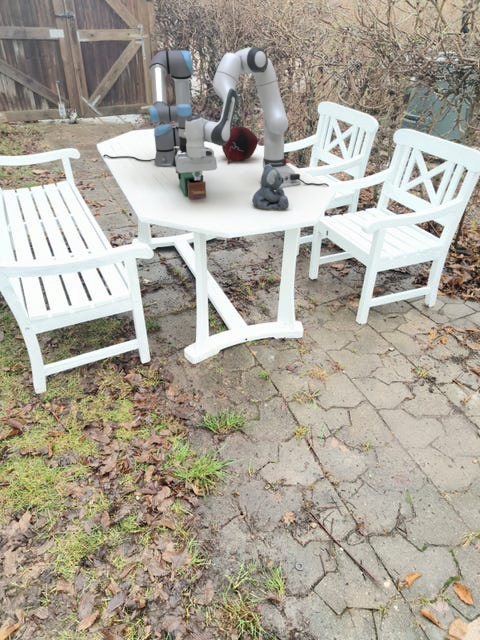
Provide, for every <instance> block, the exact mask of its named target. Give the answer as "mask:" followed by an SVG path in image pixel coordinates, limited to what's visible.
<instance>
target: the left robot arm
mask: <svg viewBox="0 0 480 640" xmlns="http://www.w3.org/2000/svg"><path fill="white" fill-rule="evenodd" d="M148 66H149V67H148V73H149V76H150V78H151V93H152V94H151V95H152V106H149V118H150V121H151V122H153V123H164V122H176V123H175V126H173V125H172V124H168V123H166V124H161V125H158V126H156V127H155V128H154V129H153V133H154V134H153V136H154V142H155V143H154V145H155V155H154V158H152V159H151V158H150V159H142V158H137V157H136V156H131V155H119V156H111V155H108V154H106V153H105V154H103V156H102V157H103V158H105V157H108V158H109V159H122V158H128V159H135V160H137V161H140V162H153V161H154V165H155V166H157V167H163V168H164V167H165V168H167V167H168V168H169V167H173V168H176V161H175V155H176V154H178V153H179V151H180V153H185V152H187V150H186V143H187V139H186V136H185V122H186V119H187V118H188V117H189V116H191V115H193V110H192V106H191V92H190V91H191V89H190V80H191V78H192V75H193V74H194V73H195V72H194V66H193V60H192V55H191V52H190V51H189V50H182V49H179V50H178V49H175V50H161V51H159V52H157V53H156V54H155V55H154V56H153V57H152V59H151V61H150V63H149V65H148ZM167 75H170V76H171V79H172V80H173V82H174V93H175V94H174V95H175V105H168V100H167V86H166V77H167ZM175 173H176V174H177V178H178V180H180V173H178V172H177V170H176V169H175Z"/></svg>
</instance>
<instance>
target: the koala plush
mask: <svg viewBox="0 0 480 640" xmlns="http://www.w3.org/2000/svg"><path fill="white" fill-rule="evenodd" d="M283 182H284V179H283V178H282V177H281V175H280V173H279V172H278V171H277V169H276V168H273V167H272V166H271V165H268V164H267V165H265V166H264V170H262V174H261V178H260V188H259V189H258V190H257V191H256V192H255V193H254V194H253V197H252V199H251V202H252V204H253V206H255V207H257V208H260V209H262V210H276V211H277V210H278V211H283V210H287V209H288V208H289V207H290V206H289V205H290V203H289V199H288V196H287V195H285V191H284V189H283V188H284V187H280V185H281V184H282V183H283ZM279 187H280V188H279Z"/></svg>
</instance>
